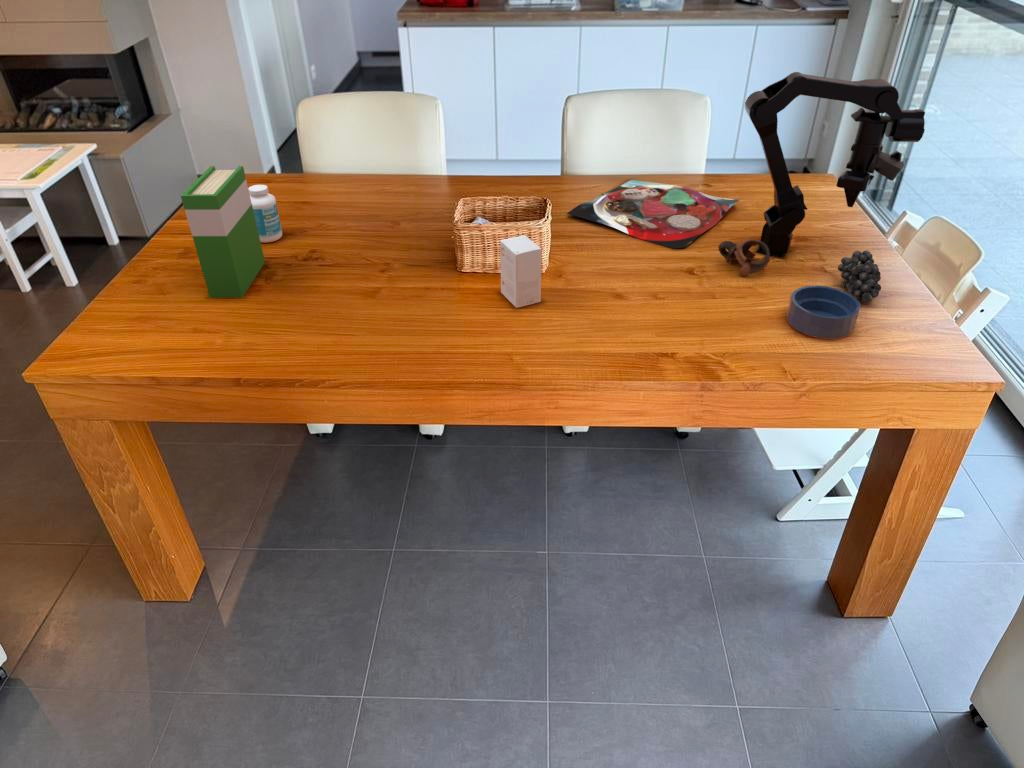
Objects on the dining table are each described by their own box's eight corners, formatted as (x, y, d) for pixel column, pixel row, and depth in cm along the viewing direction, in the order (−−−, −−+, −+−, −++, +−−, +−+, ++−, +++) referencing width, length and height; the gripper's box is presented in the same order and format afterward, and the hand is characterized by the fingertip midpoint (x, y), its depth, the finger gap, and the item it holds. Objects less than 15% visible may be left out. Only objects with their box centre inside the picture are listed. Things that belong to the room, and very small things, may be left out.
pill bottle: (272, 245, 188) (261, 194, 180) (247, 241, 190) (235, 191, 182) (288, 233, 194) (278, 184, 186) (264, 230, 196) (253, 180, 188)
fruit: (887, 273, 153) (873, 241, 165) (844, 281, 156) (833, 249, 168) (889, 308, 158) (876, 275, 169) (847, 316, 161) (837, 282, 172)
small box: (541, 302, 163) (542, 248, 156) (515, 308, 161) (515, 254, 153) (525, 286, 169) (525, 234, 161) (500, 292, 167) (499, 239, 159)
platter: (630, 179, 222) (631, 173, 221) (739, 207, 205) (740, 200, 204) (565, 216, 200) (565, 210, 199) (681, 251, 183) (682, 244, 182)
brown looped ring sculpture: (764, 261, 179) (777, 242, 172) (754, 292, 176) (768, 273, 168) (717, 244, 180) (728, 223, 173) (706, 274, 177) (718, 254, 169)
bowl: (778, 330, 153) (784, 307, 150) (794, 302, 162) (800, 280, 159) (846, 347, 147) (853, 324, 144) (858, 318, 157) (866, 295, 153)
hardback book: (235, 262, 181) (210, 166, 167) (265, 262, 181) (243, 166, 166) (209, 297, 166) (180, 195, 152) (242, 297, 166) (216, 195, 152)
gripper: (900, 159, 156) (879, 227, 165) (913, 135, 168) (893, 200, 178) (845, 150, 160) (827, 217, 170) (862, 127, 173) (845, 191, 182)
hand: (850, 206), depth 175 cm, fingers closed
